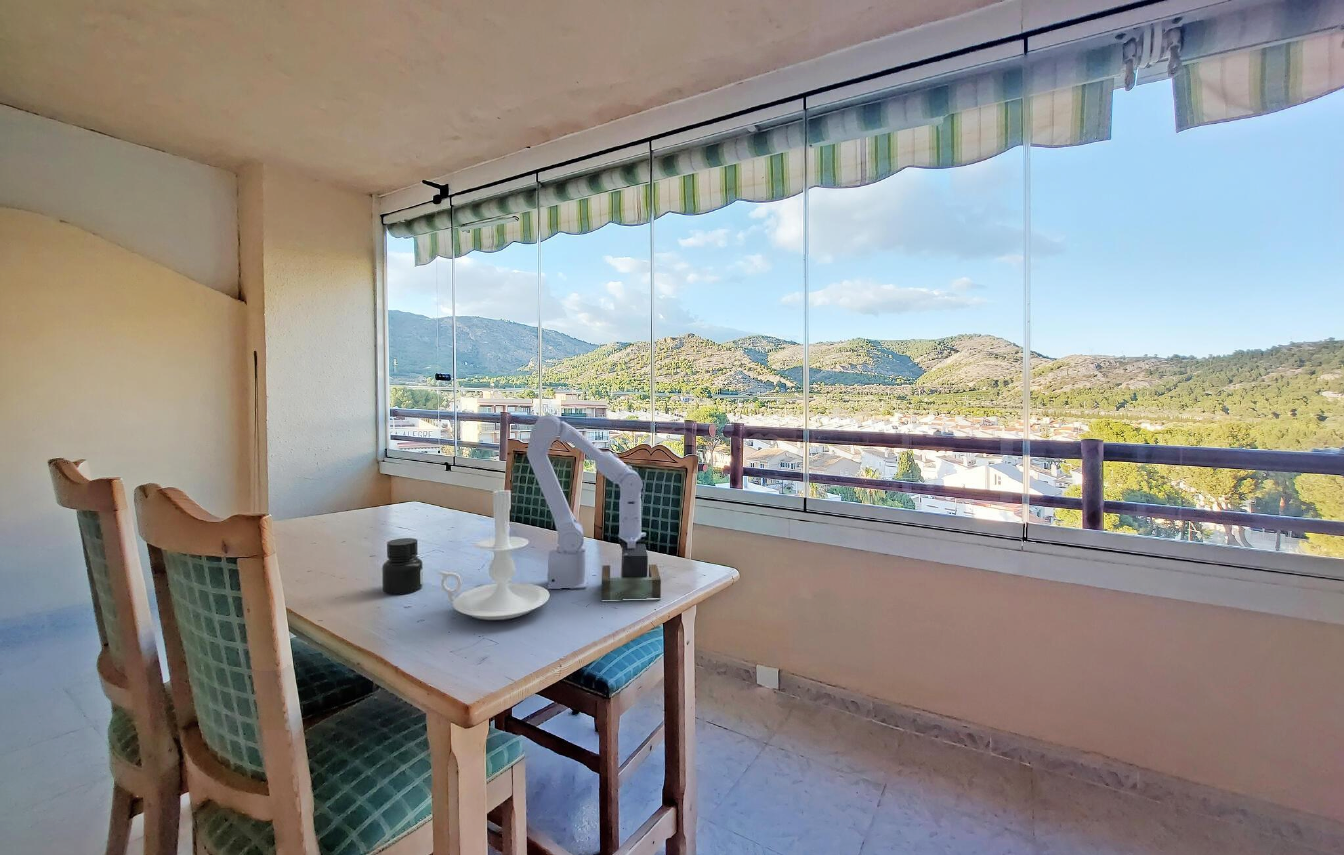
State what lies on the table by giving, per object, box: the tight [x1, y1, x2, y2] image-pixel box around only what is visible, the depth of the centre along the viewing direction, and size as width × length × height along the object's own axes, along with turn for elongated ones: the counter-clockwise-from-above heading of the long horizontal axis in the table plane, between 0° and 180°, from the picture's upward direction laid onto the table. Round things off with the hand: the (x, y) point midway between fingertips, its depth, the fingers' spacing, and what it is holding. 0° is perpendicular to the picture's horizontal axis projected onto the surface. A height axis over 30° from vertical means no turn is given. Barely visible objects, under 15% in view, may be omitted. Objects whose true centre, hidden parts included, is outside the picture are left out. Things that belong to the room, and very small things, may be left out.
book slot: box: [601, 564, 662, 601], centre depth 136 cm, size 14×12×5 cm
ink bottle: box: [381, 537, 424, 595], centre depth 136 cm, size 10×9×12 cm
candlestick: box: [438, 487, 550, 621], centre depth 122 cm, size 21×25×28 cm
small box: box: [620, 543, 649, 578], centre depth 138 cm, size 11×6×10 cm, turn 7°
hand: (630, 568), depth 144 cm, fingers closed
